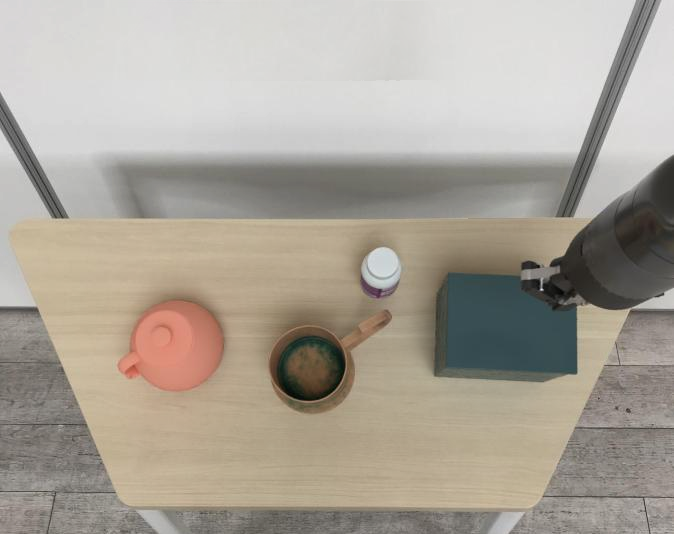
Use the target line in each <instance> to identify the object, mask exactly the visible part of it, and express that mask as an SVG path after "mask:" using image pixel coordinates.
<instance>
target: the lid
mask: <svg viewBox="0 0 674 534" xmlns="http://www.w3.org/2000/svg"><path fill="white" fill-rule="evenodd" d="M447 275H448V281H447V321H446V361H445V368H450V369H469V370H489V371H508V372H528V373H547V374H567V375H566V376H568V375H569V376H576V375H578V306H577V307H574V308H573V309H571V310H569V311H568V312H567V311H553V310H552V307H550V306H549V305H548V303H546V302H543V301H541V300H539V299H537V298H535V297H533V296H531V295H529V294H528V293H526V292H524V291H522V290H521V275H514V274H513V275H511V274H494V273H493V274H490V273H469V272H468V273H467V272H450V271H449V272H448V273H447Z"/></svg>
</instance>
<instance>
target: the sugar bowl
mask: <svg viewBox="0 0 674 534" xmlns="http://www.w3.org/2000/svg"><path fill="white" fill-rule="evenodd" d="M223 353H224V336H223V333H222V330H221V327H220V325H219V323H218V321H217V320H216V319H215V317H214V316H213V315H212V314H211V312H209V311H208V310H206V309H205V308H204V307H202V306H201V305H198V304H196V303H194V302H191V301H186V300H169V301H165V302H160V303H158V304H156V305H154V306H152V307H150V308H149V309H148V310H146V311H145V312H144V313H143V314H142V315H141V316H140V317H139V318H138V320H137V321H136V323H135V324H134V326H133V329H132V331H131V334H130V339H129V353H128V354H126V355H125V356H123V357H122V358H120V360H119V361H118V362H117V365H116V367H117V369H118V371H119V372H120V373H121V374H122V375H124V377H125V378H127V379H128V380H133V379H135V378H138V377H139V376H140V377H142V378H143V379H144V380H145V381H146V382H147V383H149V384H150V385H151V386H153V387H155V388H157V389H160V390H163V391H166V392H174V393H175V392H176V393H177V392H178V393H179V392H185V391H190V390H193V389H195V388H197V387H199V386H200V385H202V384H204V383H205V382H206V381H208V379H210V378H211V377H212V376H213V375H214V373H215V372H216V371H217V369H218V367H219V366H220V364H221V360H222V358H223Z"/></svg>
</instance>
